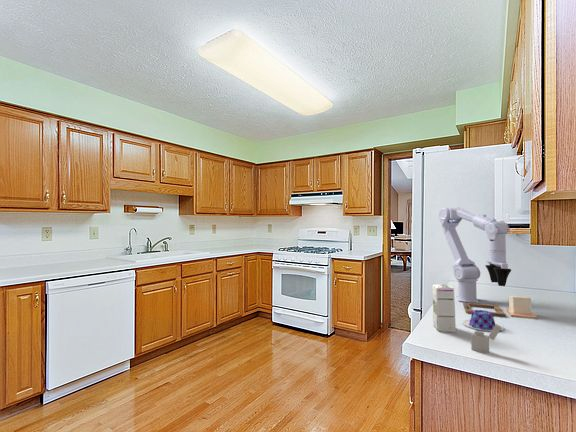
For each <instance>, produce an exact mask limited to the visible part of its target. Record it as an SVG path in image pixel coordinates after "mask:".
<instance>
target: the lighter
mask: <svg viewBox="0 0 576 432" xmlns="http://www.w3.org/2000/svg"><path fill="white" fill-rule="evenodd" d="M498 324H499V323H497V324H496V325H495V326H494V328H493V330H492V331H490V333H489V334H488V335H486V334H485V332H484V331H482V330H476V331H474V332H472V333H471V335H470V337H471V338H470V340H471V343H470V344H471V351H474V352H479V353H485V354H489V353H490V340H492V341H495V339H496V338H497V336H498V334H499V333H500V331H501V330H500V329H501V326H502V325H501V326H499V325H498Z"/></svg>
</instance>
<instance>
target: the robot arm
mask: <svg viewBox="0 0 576 432" xmlns="http://www.w3.org/2000/svg"><path fill="white" fill-rule="evenodd" d="M437 216H438V217H437V218H438V219H439V222H440V224H441V229H442V232H443V235H444V236H445V240H446V241H447V244H448V247H449V249H450V251H451V254H452V256H453V259H454V263H453V265H452V269H453V277H455V279H456V281H457V285H458V286H457V289H458V290H457V291H458V293H457V294H458V295H456V299H457V301H458V302H462V303H475V304H480V302H479V300H478V298H477V295H478V294H477V282H478V280H479V278H480V277H481V270H480V268H479V267H478V266H477V265H476V263H475V261H473V260H471V259H470V258H469V257H468V255H467V252H466V250H465V248H464V245H463V243H462V241H461V238H460V236H459V234H458V232H457V229H456V228H457V227H458V226H459V225H460V223H461V222H462V220H465V221H468V222H471V223H472V224H473V226H474V227H476V228H478V229H479V230H481V231H482V230H483V231H485V233H486V235H487V239H488V255H489V256H488V258H489V259H488V260H485V263H486V264H485V265H484V266H485V268H486V269H487V272H488V275H489V277H490V278H489V279H490V282H491V283H497V285H498V287H506V285H507V281H508V276H509V275H510V273H511V272H512V269H511V268H508V267H509V264H508V263H507V250H506V249H507V248H506V247H507V246H506V245H507V243H506V242H507V241H506V238H507V237H506V235H507V234H508V233H509V231H510V226H509V224H508V223H507V222H505V221H504V220H498V221H497V220H496V219H497V218H491V217H489V216H487V214H485V213H483V214H482V213H481V214H477V215H476V214H474V213H472V212H470V211H468V210H465V208H461V207H442V208H440V210H439V212H438V214H437Z"/></svg>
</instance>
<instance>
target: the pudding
mask: <svg viewBox="0 0 576 432" xmlns="http://www.w3.org/2000/svg"><path fill="white" fill-rule="evenodd" d="M473 310H474V309H473ZM491 312H492V311H488V310H483V309H475V310H474V311H473V312H472V314H470V315H471V316H470V319H466V320H463V321H462V324H464V326H466V327H468V328H471V329H475V330H477V331H483V332H484V331H487V332H491V331H492V330H493V328H494V326H495V325H496V324H498V325H499V326H501V329H500V331H503V330H504V326H503V325H502V324H500V323H497V322H496V320H495V318H494V317H495V316H493V315H492V313H491Z"/></svg>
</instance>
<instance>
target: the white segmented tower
mask: <svg viewBox="0 0 576 432" xmlns="http://www.w3.org/2000/svg"><path fill="white" fill-rule="evenodd" d="M455 303H456V302H455V288H454V286H453V287H452V286H451V285H450V284H444V283H443V284H441V283H439V284H432V306H433V307H432V313H433V315H432V317H433V319H432V320H433V327H434V328H435V329H436V331H438V332H445V333H446V332H447V333H456V327H457V326H456V325H457V324H456V304H455Z"/></svg>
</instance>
